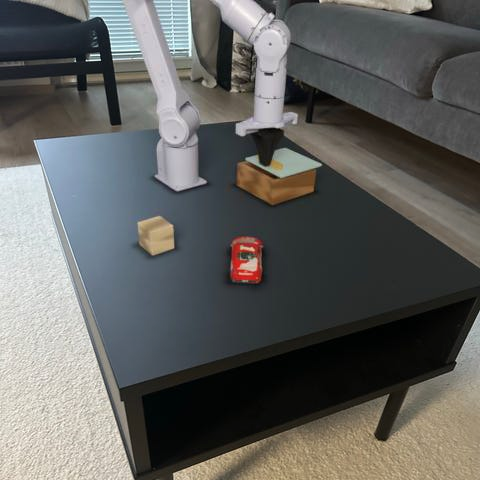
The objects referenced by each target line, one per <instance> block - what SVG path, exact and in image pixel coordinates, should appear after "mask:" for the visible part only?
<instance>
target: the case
mask: <svg viewBox="0 0 480 480" xmlns="http://www.w3.org/2000/svg"><path fill="white" fill-rule="evenodd" d="M236 167H237V169H236V186H237V187H239V188H241V189H243V190H245V192H248V193H250V194H252V195H254V196H255V197H257V198H259V199H261V200H262V201H264V202H266V203H268V204H269V205H271V206H274V205H278V204H280V203H283V202H286V201H289V200H292V199H296V198H299V197H301V196H302V197H303V196H305V195H307V194H311V193H313V192H314V190H315V185H316V175H317V169H316V168H314V169H310V170H307V171H304V172H300V173H297V174H293V175H290V176H287V177H283V178H280V177H278V176H276V175H274V174H272V173H270V172H268V171H266V170H264V169H262V168H260V167H258V166H256V165H254V164H252V163H250V162H249V161H247V160H245V161H241V162H237V166H236Z"/></svg>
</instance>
